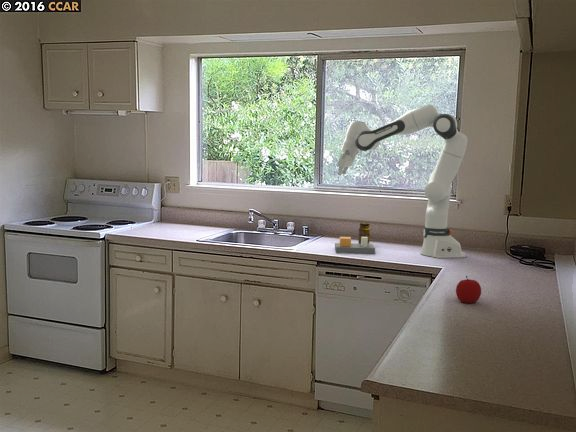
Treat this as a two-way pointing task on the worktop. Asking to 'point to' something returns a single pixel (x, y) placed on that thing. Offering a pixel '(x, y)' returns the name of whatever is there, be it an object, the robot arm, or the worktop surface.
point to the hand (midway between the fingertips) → (341, 174)
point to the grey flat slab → (355, 249)
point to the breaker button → (364, 241)
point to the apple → (468, 291)
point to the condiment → (364, 231)
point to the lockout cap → (345, 241)
